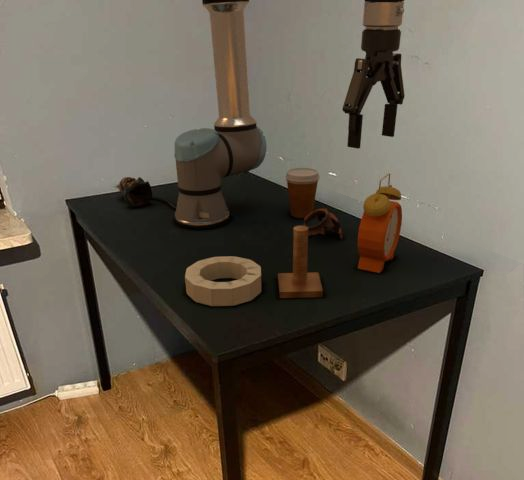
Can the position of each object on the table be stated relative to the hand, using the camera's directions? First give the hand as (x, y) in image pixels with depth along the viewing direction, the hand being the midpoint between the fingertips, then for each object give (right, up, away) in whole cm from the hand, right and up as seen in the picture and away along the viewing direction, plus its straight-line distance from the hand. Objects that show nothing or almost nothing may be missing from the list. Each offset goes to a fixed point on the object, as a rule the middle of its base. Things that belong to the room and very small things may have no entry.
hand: (371, 141), depth 119 cm
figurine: (-63, 0, +51) cm, 81 cm away
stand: (-16, -32, -1) cm, 35 cm away
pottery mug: (-8, -16, +24) cm, 30 cm away
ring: (-32, -32, 0) cm, 45 cm away
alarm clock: (+3, -25, +10) cm, 27 cm away
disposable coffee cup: (-12, -6, +39) cm, 41 cm away
